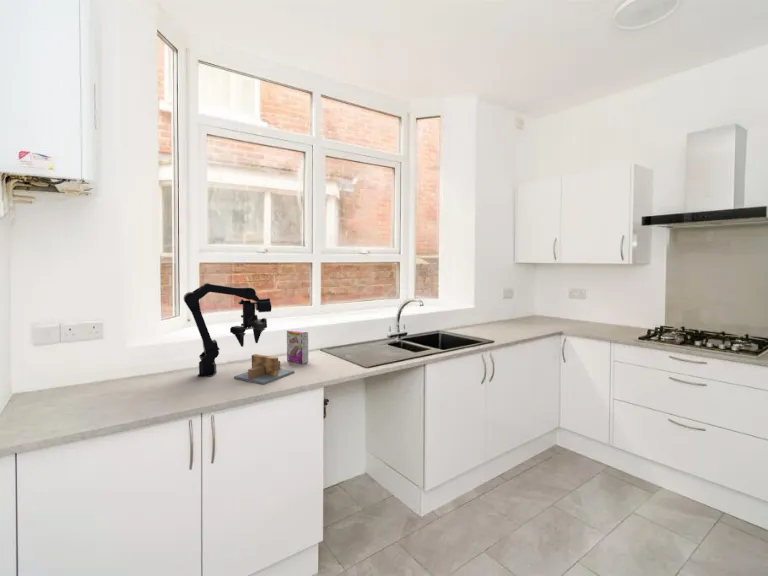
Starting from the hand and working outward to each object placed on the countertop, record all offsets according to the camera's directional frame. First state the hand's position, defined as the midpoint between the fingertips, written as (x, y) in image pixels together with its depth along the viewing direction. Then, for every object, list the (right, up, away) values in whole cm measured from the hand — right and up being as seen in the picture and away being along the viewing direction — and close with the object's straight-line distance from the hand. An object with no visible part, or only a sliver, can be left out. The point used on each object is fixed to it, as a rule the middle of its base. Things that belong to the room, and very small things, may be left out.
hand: (249, 344), depth 196 cm
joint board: (+10, -13, -10) cm, 19 cm away
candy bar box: (+20, -11, +15) cm, 28 cm away
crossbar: (+10, -12, -10) cm, 18 cm away
